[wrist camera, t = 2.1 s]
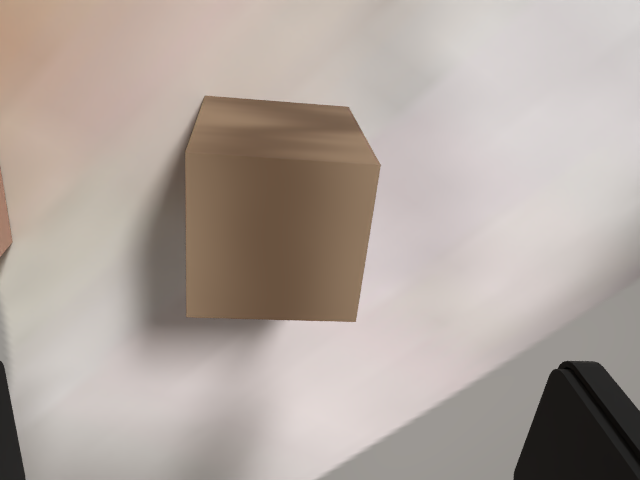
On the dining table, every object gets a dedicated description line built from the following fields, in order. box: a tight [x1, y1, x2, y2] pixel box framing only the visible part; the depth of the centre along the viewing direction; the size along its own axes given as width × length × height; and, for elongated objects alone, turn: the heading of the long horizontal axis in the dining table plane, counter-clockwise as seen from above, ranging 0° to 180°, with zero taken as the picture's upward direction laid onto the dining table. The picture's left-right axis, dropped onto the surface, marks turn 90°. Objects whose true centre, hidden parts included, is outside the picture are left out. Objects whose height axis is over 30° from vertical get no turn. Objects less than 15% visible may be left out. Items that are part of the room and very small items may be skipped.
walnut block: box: [185, 96, 381, 322], centre depth 18 cm, size 5×5×6 cm
